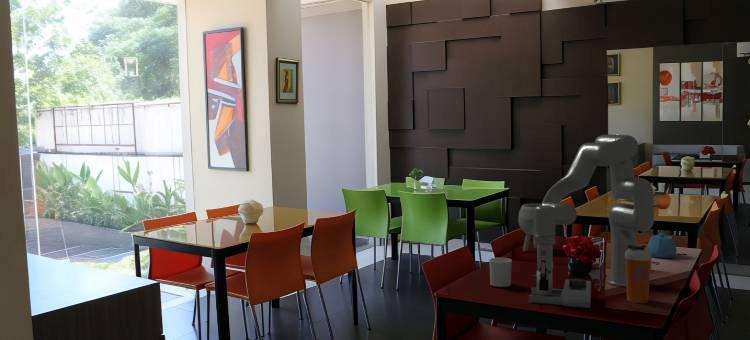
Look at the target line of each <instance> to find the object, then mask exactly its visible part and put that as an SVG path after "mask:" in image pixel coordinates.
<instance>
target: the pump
mask: <svg viewBox="0 0 750 340" xmlns="http://www.w3.org/2000/svg"><path fill="white" fill-rule="evenodd" d="M545 271H547V270H545ZM545 274H546V273H545ZM539 279H540V272H539V271H538V270H536V274H532V281H536V288H537V294H540V295H539V296H542V295H551V294H552V289H553V271H552V272H550V271H548V291H542V290H539Z"/></svg>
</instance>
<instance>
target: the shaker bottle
mask: <svg viewBox="0 0 750 340" xmlns="http://www.w3.org/2000/svg"><path fill="white" fill-rule="evenodd" d="M647 246H648V245H645V244H642V245H637V246H636V245H628V246H627V247H628V250H627V251H626V252H625V260H626V284H627V287H626V300H627V302H630V303H634V304H646V303H648V302H649V293H650V292H649V291H650V279H651V278H650V277H651V276H650V274H651V262H652V261H651V260H652V256H651V253H650V249H649V247H647Z"/></svg>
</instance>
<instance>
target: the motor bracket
mask: <svg viewBox="0 0 750 340" xmlns="http://www.w3.org/2000/svg"><path fill="white" fill-rule="evenodd" d="M530 289H531V290H530V291H531V293H530V294H529V295H528V303H529V304H530V303H533V304H544V305H546V304H547V305H557V306H558V305H561V306H563V307H572V308H586V309H588V308H589V309H591V303H592V302H591V299H592V295H591V294H592V281H591V280H586V279H584V278H570V279H565V280H564V286H563V289H561V288H560V289H559V288H552V294H551V295H540V294H537V287H531V288H530Z"/></svg>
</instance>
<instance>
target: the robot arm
mask: <svg viewBox="0 0 750 340" xmlns="http://www.w3.org/2000/svg"><path fill="white" fill-rule="evenodd" d="M638 149H639V143H638V140H637V138H636V137H634V136H632V135H629V134H601V135H599V136H597V137H595V139H594V142H585V143H583V144H582V145H580V146H579V148H578V150H577V152H576V154H575V156H574V158H573V160H572V163H571V165H570V166H569V169H568V171H567V172H566V175H564V177H562V178H561V179H559V180H557V182H556V183H554V184H553V185H552V187H550V188H549V189H548V191H547V192H546V194H545V196H544V197H543V199H542V202H541V203H540V204H541V205H540V206H536V207H535V209H534V240H533V245H534V244H537V248H536V251H537V252H536V253H537V255H536V258H537V271H539V272H540V279H539V290H542V291H548V271H550V272H552V273H553V268H554V249H553V247H554V246H553V245H556V226H558V225H562V226H567V225H571V224H573V223H574V222H575V221H576V220H577V215H578V214H577V210H576V208H575V207H574V206H572V205H570V204H567V203H561V202H562V200H563V199H565V197H566V196H568V195H569V194H571V193H573V192H576V191H579V190H582V189H584V188H586V187H587V186H588V185H589V182H590V180H591V178H592V176H593V174H594V172H595V170H596V169H597V167H599V166H601V167H609V172H610V189H611V195H612V198H614V199H615V200H617V201H623V203H622V202H621V203H620V202H619V203H615V204H613V205H612V206H611V207H610V208H609V211H608V222H609V228H610V276H609V277H606V283H607V284H610V285H613V286H617V287H626V288H627V284H626V260H625V252H626V251H627V250H628V247H627V246H628V245H636V246H638V240H637V239H638V238H637V235H636V231H637V232H638V231H639V232H646V231H649V230H651V228H653V226H654V225H653V224H654V223H655V205H654V204H655V201H654V199H655V198H654V188H653V186H652V183H651V182H650V181H649V180H647V179H645V178H643V177H642V178H641V177H635V173H634V172H635V171H634V164H633V160H632V157H634V155H636V153H637V151H638ZM624 202H629V204H628V203H624ZM630 203H633V204H630ZM545 270H547V271H545ZM545 273H546V274H545Z"/></svg>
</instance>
